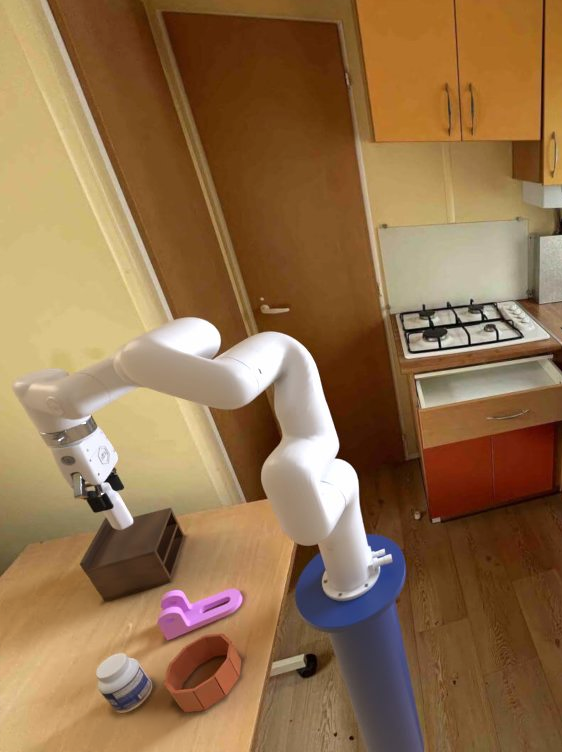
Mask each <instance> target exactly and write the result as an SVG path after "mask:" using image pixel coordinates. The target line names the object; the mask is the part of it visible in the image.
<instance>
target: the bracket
mask: <svg viewBox="0 0 562 752" xmlns="http://www.w3.org/2000/svg"><path fill="white" fill-rule="evenodd" d="M224 603H225V604H224ZM242 603H243V596H242V594H241V591H240V590H239V589H238V588H229V589H225V590H223V591H221V592H218V593H216V594H213V595H210V596H208V597H206V598H203V599H200V600H198V601H195V602H193V603H190V601H189V600H188V598H187V595H186V594H185V592H184V591H183V590H180V589H173V590H170V591H167V592H166V593H164V594H163V596H162V597H161V601H160V608H161V610H162V611H160V612H159V614H158V616H157V622H156V623H157V626H158V627H159V629H160V630H161V632H162V634H163V636H164V637H165V639H166V640H167V641H170V640H173V639H175V638H178V637H181V636H182V635H184V634H187V633H190V632H191V631H194V630H196V629H197V630H198V629H199V628H201V627H204V626H207V625H209V624H211V623H213V622H215V621H218V620H220V619H223V618H225V617H228V616H230V615H232V614H233V613H234V612H236V611H237V610H238V609H239V608H240V606H241V605H242ZM222 604H223V605H222ZM219 605H220V606H219ZM217 606H218V607H217ZM207 610H208V611H207Z"/></svg>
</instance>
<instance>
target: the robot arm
mask: <svg viewBox="0 0 562 752" xmlns="http://www.w3.org/2000/svg"><path fill="white" fill-rule="evenodd" d="M221 339H222V338H221V334H220V332H219V330H218V329H217V328H216V326H215V325H213V324H212V323H211V322H209V321H208V320H205V319H204V318H199V317H195V316H194V317H193V316H191V317H189V316H188V317H187V316H185V317H181V318H176V319H173V320H170V321H168V322H165V323H164V324H161V325H159V326H157V327H155V328H152V329H150V330H148V331H146V332H144V333H141V334H139V335H137V336H135V337H133V338H132V339H130V340H129V341H127V343H124V344H122V345H121V346H119V347H118V348H117V349H116V350H115V352H114V354H113V355H111V356H108V357H106V358H104V359H102V360H100V361H98V362H95V363H93V364H90V365H88V366H86V367H85V368H83V369H80V370H78V371H75V372H74V373H71V374H70V373H69V372H67V371H66V370H65V369H61V368H44V369H39V370H35V371H31V372H28V373H25V374H23V375H21V376H19V377H18V378H17V377H16V379H15V380H14V381H13V382H12V385H11V389H12V391H13V394H14V395H15V397H16V398H17V400H18V401H19V403H20V404H21V406H22V408H23V409H24V411H25V413H26V414H27V416H28V417H29V419H30V421H31V422H32V424H33V425H34V427H35V429H36V430H37V432H38V434H39V436H41V439H42V440H43V442H44V444H45V445H46V447H48V448H50V451H51V453H52V456H53V458H54V461H55V463H56V466H57V468H58V470H59V472H60V473H61V475H62V477H63V479H64V480H65V482H66V483H67V485H68V486H69V487H70V488H71V490H73V497H74V499H76V500H77V499H79V500H83V501H86V503H87V504H88V506H89V507H90V509H91V511H92V512H93V513H94V514H97V513H103V511H106V510H110V509H113V507H114V505H113V504H112V502H111V500H110V498H109V497H108V495H107V493H103V490H102V487H101V484H102V483H105V482H107V483H109V484H110V486H111V488H112V489H113V490H114V491H116V492H120V491H123V490H124V489H125V485H124V484H123V482H122V480H121V478H120V476H119V474H118V471H117V468H116V467H115V466H116V464H117V463H118V461H119V455H118V453H117V451H116V450H115V447H114V446H113V444H112V443H111V441H110V440H109V439H108V437H107V435H106V434H105V432H104V431H103V430H102V429H101V428H100V427H99V425H98V424H97V422H96V421H95V419H94V416H93V414H94V413H96V412H98V411H100V410H102V409H104V408H105V407H107V406H108V405H109V404H111V403H113V402H115V401H117V400H118V399H120V398H122V397H124V396H125V395H127V394H129V393H131V392H132V391H134V390H136V389H138V388H143V389H144V388H145V389H146V388H147V389H148V390H149V389H150V390H152V391H155V392H158V393H161V394H164V395H168V396H171V397H175V398H177V399H181V400H185V401H188V402H193V403H195V404H199V405H202V406H205V407H209V408H213V409H219V410H225V411H226V410H227V411H228V410H230V411H232V410H237V409H240V408H243V407H245V406H247V405H248V404H250V403H251V402H252V401H254V400H255V399H256V398H257V397H258V396H260V395H261V394H262V393H263V392H264V391H266V389H267V388H269V387H270V385H272V384H273V385H274V397H273V408H274V412H275V416H276V419H277V421H278V423H279V426H280V429H281V435H282V436H281V437H282V438H281V440H280V443H279V444H278V445H277V446H276V447H275V448H274V450H273V451H272V452H271V453H270V454H269V455H268V457H267V458H266V459H265V461H264V462H263V465H262V467H261V474H260V481H261V485H262V488H263V491H264V493H265V496H266V498H267V500H268V503H269V505H270V507H271V509H272V512H273V514H274V516H275V518H276V519H275V520H277V523H278V525H279V527H280V529H281V530H282V532H283V533H284V535H286V537H287V538H288V539H290V540H291V541H292V542H294V543H296V544H298V545H300V546H304V547H305V546H306V547H309V546H316V545H318V549H319V553H320V552H321V555H322V559H323V562H324V566H325V569H326V571H325V572H324V575H323V578H322V587H323V590H324V592H325V594H326V595H327V596H328V597H329V598H331V599H333V600H337V601H347V600H352V599H355V598H357V597H359V596H361V595H363V594H364V593H366V592H367V591H368V590H369V589H371V587H372V586H373V585H374V584H375V582H376V581H377V579H378V577H379V573H380V566H382V565H386V564H389V563H392V562H393V561H392V556H391V554H389V555H386V554H385V549H382V550H379V551H377V552H374V551H373V552H371V547H370V546H369V547H368V543H367V539H366V534H367V533H366V530H365V526H364V522H363V521H364V520H363V515H362V510H361V505H360V487H359V485H360V484H359V479H358V474H357V472H356V470H355V469H354V467H353V466H352V465H351V464H350V463H349V462H347V461H345V460H343V459H340V458H336V457H337V455H338V452H339V449H340V441H339V437H338V434H337V431H336V428H335V425H334V421H333V418H332V415H331V412H330V409H329V406H328V403H327V401H326V397H325V394H324V390H323V386H322V382H321V377H320V374H319V370H318V367H317V364H316V362H315V360H314V358H313V356H312V354H311V353H310V352H309V351H308V349H307V348H306V347H305V346H304V345H303V344H302V343H301V342H299V341H298V340H296V338H293V337H292V336H290V335H288V334H285V333H282V332H278V331H263V332H259V333H256V334H253V335H251V336H249V337H247V338H245V339H243V340H242V341H240V342H238V343H237V344H235V345H234V346H232V347H230V348H229V349H228V350H226V351H224V352H223V353H221V354H220V355H218V356H216V355H217V354H218V352H219V350H220V348H221V342H222V340H221ZM215 356H216V357H215ZM214 357H215V358H214ZM86 482H87V483H86ZM91 487H94V488H95V490H93V489H94V488H93V489H92V490H88V488H91ZM383 555H386V556H384V557H381V558H378V559H377V557H379V556H383Z"/></svg>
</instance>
